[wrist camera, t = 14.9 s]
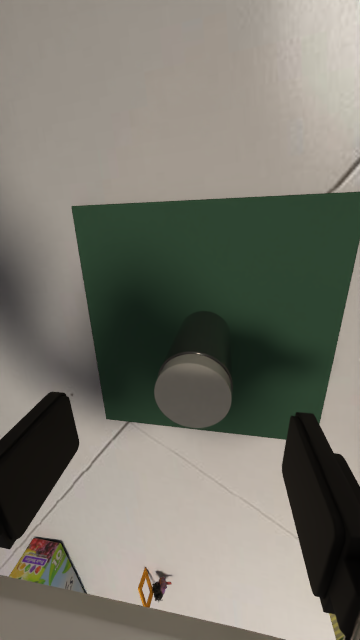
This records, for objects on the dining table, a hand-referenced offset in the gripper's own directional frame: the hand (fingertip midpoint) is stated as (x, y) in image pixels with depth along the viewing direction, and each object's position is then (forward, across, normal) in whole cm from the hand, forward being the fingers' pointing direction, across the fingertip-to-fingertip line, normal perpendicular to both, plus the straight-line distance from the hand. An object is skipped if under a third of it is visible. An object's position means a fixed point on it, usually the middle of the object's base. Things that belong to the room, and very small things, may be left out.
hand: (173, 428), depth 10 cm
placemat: (+11, -1, 0) cm, 11 cm away
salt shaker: (+10, -1, 0) cm, 10 cm away
